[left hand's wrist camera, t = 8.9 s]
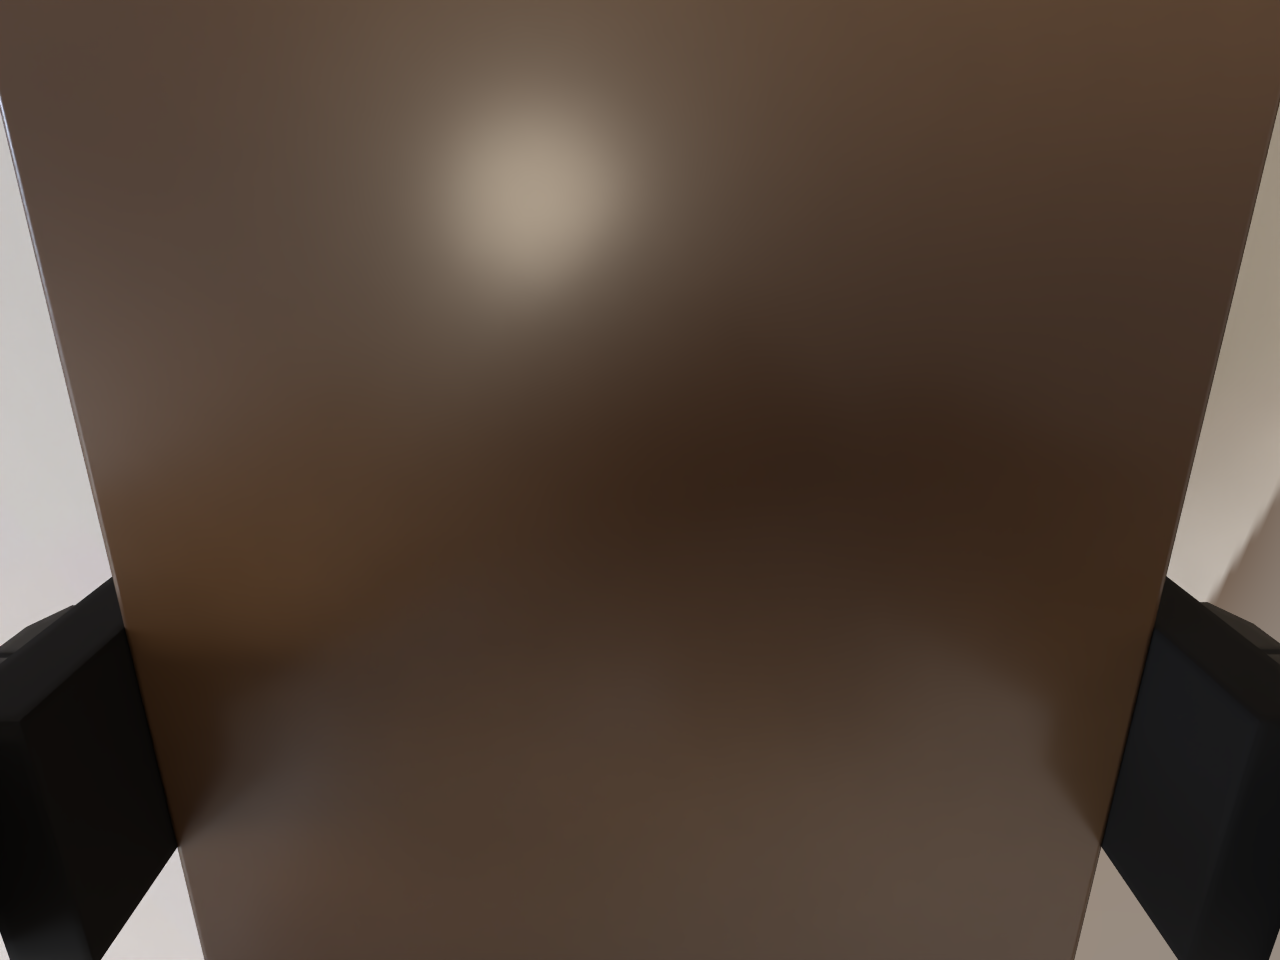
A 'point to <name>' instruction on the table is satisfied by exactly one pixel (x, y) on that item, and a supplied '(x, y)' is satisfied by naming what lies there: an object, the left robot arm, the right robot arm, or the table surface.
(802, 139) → the brown rectangular box
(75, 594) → the table surface
